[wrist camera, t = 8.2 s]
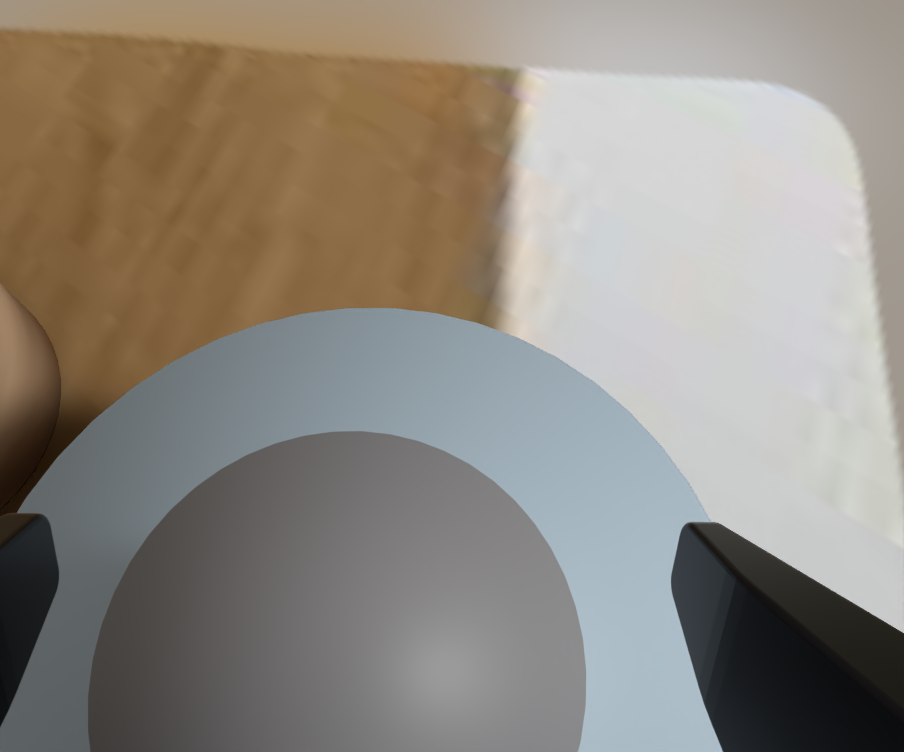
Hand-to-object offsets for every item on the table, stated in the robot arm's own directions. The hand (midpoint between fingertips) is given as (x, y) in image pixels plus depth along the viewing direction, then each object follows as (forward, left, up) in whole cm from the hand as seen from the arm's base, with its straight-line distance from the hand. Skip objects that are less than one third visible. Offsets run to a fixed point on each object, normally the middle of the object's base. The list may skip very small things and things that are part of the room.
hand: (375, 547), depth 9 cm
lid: (-1, -1, -5) cm, 5 cm away
